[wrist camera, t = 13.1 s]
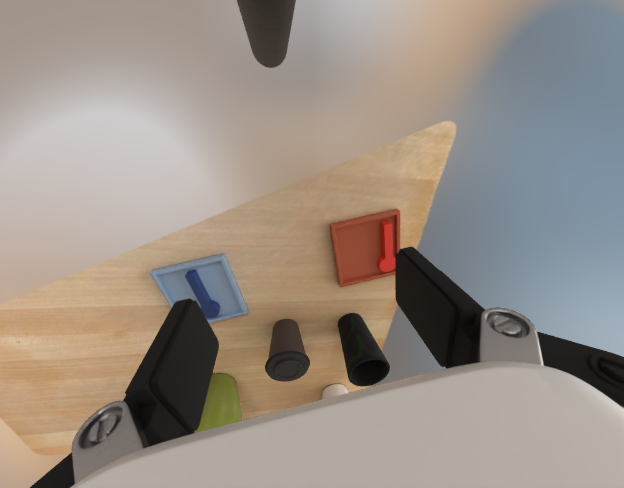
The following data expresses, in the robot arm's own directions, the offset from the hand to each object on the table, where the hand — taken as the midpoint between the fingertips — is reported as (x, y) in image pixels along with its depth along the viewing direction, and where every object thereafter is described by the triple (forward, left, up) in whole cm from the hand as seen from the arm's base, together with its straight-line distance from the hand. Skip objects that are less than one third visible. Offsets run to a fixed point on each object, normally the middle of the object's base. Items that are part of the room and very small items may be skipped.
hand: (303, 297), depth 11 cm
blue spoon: (+17, -19, -28) cm, 38 cm away
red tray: (+16, +12, -28) cm, 35 cm away
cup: (+34, +7, -28) cm, 45 cm away
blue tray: (+17, -19, -28) cm, 38 cm away
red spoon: (+16, +16, -28) cm, 36 cm away
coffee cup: (+31, -7, -28) cm, 43 cm away
